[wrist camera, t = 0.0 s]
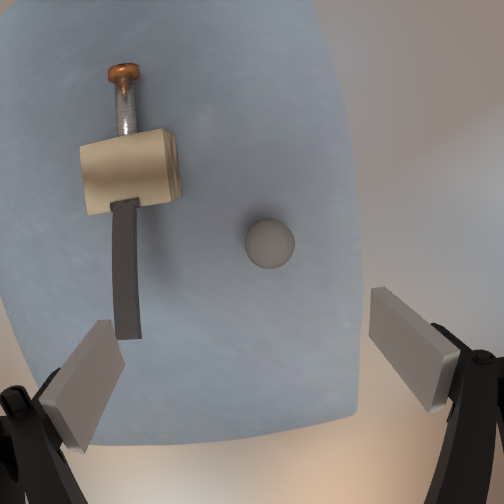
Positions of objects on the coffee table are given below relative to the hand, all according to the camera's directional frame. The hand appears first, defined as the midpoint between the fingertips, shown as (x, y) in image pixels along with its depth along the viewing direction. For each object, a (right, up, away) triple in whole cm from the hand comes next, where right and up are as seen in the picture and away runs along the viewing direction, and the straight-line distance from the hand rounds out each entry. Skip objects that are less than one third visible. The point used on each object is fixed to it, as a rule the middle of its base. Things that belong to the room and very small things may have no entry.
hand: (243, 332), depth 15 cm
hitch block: (-14, +14, +24) cm, 32 cm away
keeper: (-12, +2, +16) cm, 20 cm away
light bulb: (+2, +7, +28) cm, 28 cm away
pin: (-15, +20, +20) cm, 32 cm away
